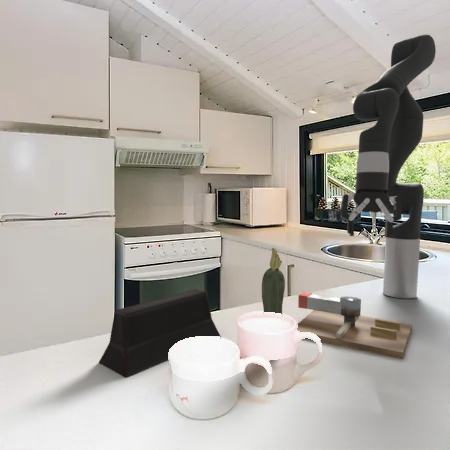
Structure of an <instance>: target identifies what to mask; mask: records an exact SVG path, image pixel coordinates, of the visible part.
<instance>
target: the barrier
mask: <svg viewBox="0 0 450 450" xmlns="http://www.w3.org/2000/svg"><path fill="white" fill-rule="evenodd" d="M195 336H220V337H221V338H222V336H221V334H220V333H219V330H218V328H217V327H216V324H215V322H214V320H213V317H212V312H211V306H210V298H209V295H208V291H204V290H201V289H196V288H195V289H192V290H188V291H184V292H183V291H182V292H181V293H180V292H179V293H177V294H176V293H175V294H172V295H169V296H165V297H160V298H158V299H152V300H150V301H145V302H142V303H137V304H134V305H131V306H126V307H122V308H120V309H116V311H114V314H113V321H112V326H111V331H110V337H109V343H108V344H107V346H106V348H105V350H104V352H103V354H102V356H101V358H100V359H99V361H98V364H100V365H102V366H103V367H106V368H107V369H109V370H110V371H113V372H114V373H116V374H117V375H119V376H120V377H123V378H125V379H128V378H130V377H133V376H134V375H135V376H136V375H137V374H139V373H142V372H144V371H147V370H149V369H152V368H154V367H156V366H158V365H159V366H160V365H161V364H163V363H165V362H168V361H169V360H168V352H169V349H170V348H171V347H172V346H173V345H174V344H175V343H177V342H178V341H180V340H183V339H185V338H189V337H195Z"/></svg>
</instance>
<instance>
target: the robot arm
mask: <svg viewBox="0 0 450 450" xmlns="http://www.w3.org/2000/svg"><path fill="white" fill-rule="evenodd" d="M435 43H436V42H435V39H434V38H433V36H431V35H430V34H420V35H415V36H412V37H409V38H404V39H401V40H399V41H396V42H395V43H393V45H392V49H391V52H390V53H391V54H390V55H391V56H390V67H389V68H388V69H387V70H385V71H384V72H383V73H382V74H381V76H380V77H379V78H378V80H376V82H374V83H372V84H371V85H369V86H368V87H366V88H365V89H363V90H362V91H360V92H359V93H358V95H357V96H355V97H356V98H355V99H354V101H353V105H352V111H353V114H354V117H355V118H356V119H357V120H359V121H361V122H369V121H370V122H371V121H376V123H375V124H374V125H373V126H371V127H369V128H367V129H364V130H362V131H360V133H359V140H358V156H357V160H356V161H357V162H356V175H355V176H356V177H355V192H354V195H350V194H346V193H345V194H343V195H342V196H341V203H340V213H339V218H342V219H344V220H346V222H347V224H346V225H347V227H346V232H347V234H349V237H354V236H355V221H354V219H355V218H356V217H357V216H359V214H360V213H361V212H362V213H376V214H377V213H379V214H380V215H381V216H382V217H383V218H384V219H385V221H386V222H385V223H384V238H385V245H384V246H385V248H384V249H385V251H384V267H383V284H382V285H383V287H382V294H384V295H386V296H388V297H393V298H396V299H414V298H415V299H416V298H417V297H418V295H417V294H418V282H419V281H418V280H419V266H420V265H419V264H420V246H421V245H420V244H421V229H422V228H421V225H422V224H421V223H422V215H423V205H424V197H425V195H424V194H425V192H424V186H423V185H422V184H421V183H419V182H397V180H398V176H399V173H400V172H401V169H402V168H403V166H404V164H405V163H406V162H407V160H408V158H410V156H411V154H412V153H413V152H414V151H415V150H416V149H417V147H418V145H420V143H421V140H422V137H423V131H424V130H423V128H424V113H423V109H422V108H421V106H420V105H419V103H418V102H417V101H416V100H415V98H414V96H413V95H412V94H411V91H410V89H409V88H408V86H409V84H410V83H412V82H413V81H414V80H415V79H416V78H417V77H419V75H421V74H422V73H423V72H424V71H426V70H427V69H428V68H430V67H431V66H432V64H433V63H434V60H435V58H436V44H435ZM352 200H353V201H354V203H355V204H356V207H354V208H353V210H352V211H351V212H350V214H347V213H348V206H349V205H348V204H351V202H352ZM402 215H404V216H405V215H407V216H408V218H407V220H405V221H403V222H401V223H398V224H395V225H394V222H398V221H400V220H402Z"/></svg>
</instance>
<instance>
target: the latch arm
mask: <svg viewBox="0 0 450 450" xmlns="http://www.w3.org/2000/svg"><path fill="white" fill-rule="evenodd" d="M297 300H298V301H297V302H298V303H297V304H298V305H297V306H298V308H299V309H306V310H311V311H313V310H317V311H323V312H328V313H334V314H340V315H343V316H346V317H359V316H360V315H361V311H362V310H361V309H362V299H361V298H358V297H356V296H348V295H347V296H346V295H345V296H341V297H333V296H327V295H321V294H313V293H312V292H309V291H303V292H301V293H299V294H298V299H297Z"/></svg>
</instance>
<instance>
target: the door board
mask: <svg viewBox="0 0 450 450" xmlns="http://www.w3.org/2000/svg"><path fill="white" fill-rule="evenodd" d="M297 324H298V328H297V330H298V331H300V332H311V333H314V334H316V335H317V336H318V337H319V338H320V339H321V341H322V342H321V341H320V342H321V343H327V344H331V345H336V346H339V347H346V348H351V349H355V350H360V351H364V352H369V353H374V354H379V355H383V356H388V357H393V358H397V359H401V360H402V359H403V358H404V355H405V352H406V349H407V347H408V343H409V339H410V336H411V334H412V330H413V324H412V323H408V322H401V321H396V320H391V319H390V320H389V319H385V318H379V317H378V318H377V317H374V316H373V317H372V316H368V315H367V316H366V315H361V314H360V316H359V317H346V316H343V315H340V314H334V313H328V312H323V311H317V310H311V312H310V313H308V314H307V315H306V316H305V317H304V318H303V319H301V320H300V321H299V322H298V323H297Z"/></svg>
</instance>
